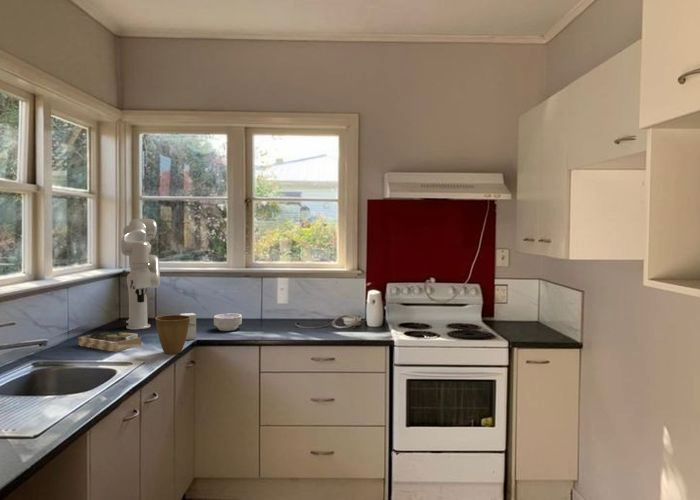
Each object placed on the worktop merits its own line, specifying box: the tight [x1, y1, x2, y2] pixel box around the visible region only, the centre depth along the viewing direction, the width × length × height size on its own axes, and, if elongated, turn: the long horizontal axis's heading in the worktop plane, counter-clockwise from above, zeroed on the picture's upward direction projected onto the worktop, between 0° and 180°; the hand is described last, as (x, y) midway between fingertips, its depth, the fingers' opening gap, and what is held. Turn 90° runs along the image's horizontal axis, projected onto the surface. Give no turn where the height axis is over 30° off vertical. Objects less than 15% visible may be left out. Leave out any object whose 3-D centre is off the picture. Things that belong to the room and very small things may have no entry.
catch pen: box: [77, 334, 142, 353], centre depth 243 cm, size 26×14×4 cm, turn 62°
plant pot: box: [155, 314, 190, 355], centre depth 230 cm, size 15×15×16 cm
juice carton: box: [90, 331, 138, 342], centre depth 244 cm, size 20×10×6 cm, turn 80°
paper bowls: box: [213, 312, 243, 332], centre depth 283 cm, size 15×15×8 cm
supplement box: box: [178, 312, 197, 341], centre depth 259 cm, size 7×7×13 cm
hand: (140, 302), depth 259 cm, fingers closed
